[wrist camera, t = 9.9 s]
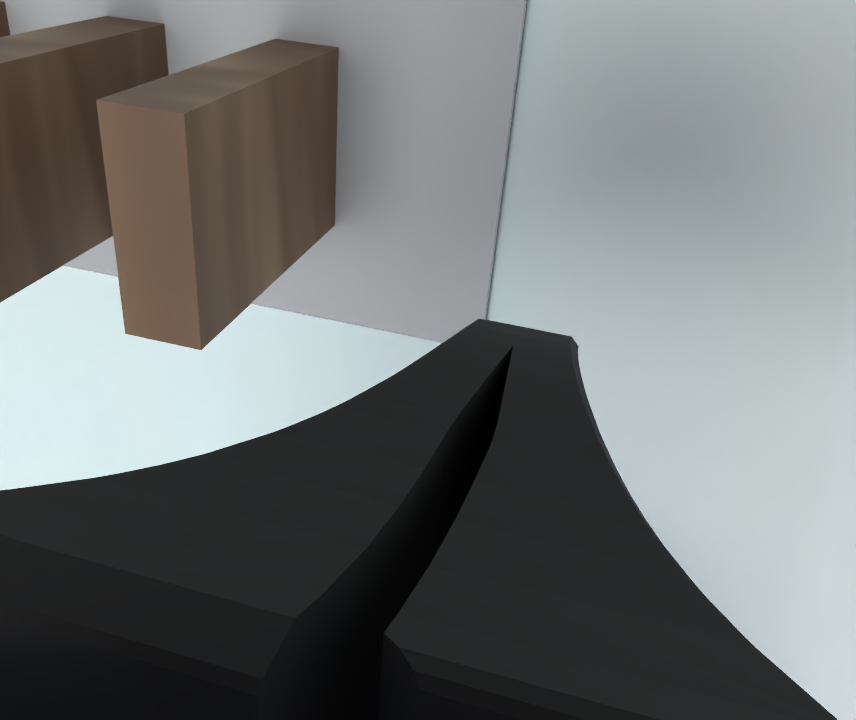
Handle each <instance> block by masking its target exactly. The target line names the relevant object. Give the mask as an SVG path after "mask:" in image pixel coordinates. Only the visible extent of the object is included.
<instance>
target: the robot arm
mask: <svg viewBox="0 0 856 720" xmlns="http://www.w3.org/2000/svg"><path fill="white" fill-rule="evenodd" d="M0 720H837V719H836V718H835V717H834V716H833V715H832V714H830V713H829V712H828V711H827V710H826V709H825V708H824V707H822V706H821V705H820V704H819V703H818V702H817V701H816V700H815V699H813V698H812V697H811V696H810V695H809V694H808V693H807V692H805V691H804V690H803V689H802V688H801V687H800V686H799V685H797V684H796V683H795V682H794V681H793V680H792V679H791V678H789V677H788V676H787V675H786V674H785V673H784V672H783V671H782V670H780V669H779V668H778V667H777V666H776V665H775V664H774V663H772V662H771V661H770V660H769V659H768V658H767V657H766V656H764V655H763V654H762V653H761V652H760V651H759V650H758V649H756V648H755V647H754V646H753V645H752V644H751V643H750V642H749V641H748V640H747V639H746V638H745V637H744V636H743V635H742V634H741V633H740V632H739V631H738V630H737V629H736V628H735V627H734V626H733V625H732V624H731V622H730V621H729V620H728V619H727V618H726V617H725V616H724V615H723V614H722V613H721V612H720V611H719V610H718V609H717V608H716V607H715V606H714V605H713V604H712V603H711V602H710V601H709V600H708V599H707V598H706V596H705V595H704V594H703V593H702V592H701V591H700V590H699V588H698V587H697V586H696V585H695V584H694V583H693V581H692V580H691V579H690V578H689V576H688V575H687V574H686V573H685V571H684V570H683V569H682V568H681V567H680V565H679V564H678V563H677V562H676V560H675V559H674V558H673V557H672V555H671V554H670V553H669V552H668V550H667V549H666V548H665V547H664V545H663V544H662V543H661V541H660V540H659V538H658V537H657V535H656V534H655V532H654V531H653V530H652V528H651V527H650V525H649V524H648V522H647V521H646V519H645V518H644V516H643V514H642V513H641V511H640V510H639V508H638V506H637V505H636V503H635V502H634V500H633V498H632V497H631V495H630V493H629V491H628V490H627V488H626V486H625V484H624V482H623V481H622V479H621V477H620V475H619V473H618V471H617V469H616V467H615V465H614V463H613V461H612V459H611V457H610V454H609V452H608V450H607V448H606V446H605V444H604V441H603V439H602V437H601V434H600V432H599V429H598V427H597V424H596V421H595V419H594V416H593V413H592V410H591V407H590V405H589V402H588V399H587V396H586V392H585V389H584V385H583V381H582V377H581V373H580V368H579V362H578V345H577V344H576V342H575V341H574V339H573V338H572V337H571V336H566V335H561V334H556V333H551V332H545V331H540V330H535V329H530V328H525V327H520V326H515V325H510V324H504V323H499V322H494V321H489V320H484V319H477V320H476V321H474V322H473V323H471V324H470V325H468V326H467V327H465V328H463V329H462V330H460V331H459V332H458V333H456V334H455V335H453V336H452V337H450V338H449V339H448V340H446V341H445V342H443V343H442V344H440V345H439V346H437V347H436V348H435V349H433V350H432V351H430V352H429V353H427V354H426V355H424V356H423V357H421V358H420V359H418V360H417V361H415V362H413V363H412V364H410V365H409V366H407V367H406V368H404V369H403V370H401V371H399V372H398V373H396V374H395V375H393V376H391V377H390V378H388V379H386V380H384V381H382V382H381V383H379V384H377V385H375V386H373V387H372V388H370V389H368V390H366V391H364V392H363V393H361V394H359V395H357V396H355V397H354V398H352V399H350V400H348V401H346V402H344V403H342V404H340V405H338V406H336V407H333V408H331V409H329V410H327V411H325V412H323V413H320V414H318V415H316V416H313V417H311V418H308V419H306V420H303V421H301V422H299V423H296V424H294V425H291V426H289V427H286V428H284V429H281V430H278V431H276V432H273V433H270V434H267V435H263V436H260V437H257V438H254V439H251V440H248V441H245V442H241V443H238V444H235V445H232V446H229V447H226V448H223V449H219V450H216V451H213V452H210V453H207V454H203V455H199V456H195V457H191V458H187V459H183V460H179V461H175V462H171V463H167V464H163V465H158V466H153V467H148V468H143V469H139V470H134V471H129V472H124V473H119V474H113V475H108V476H102V477H97V478H90V479H83V480H76V481H69V482H61V483H54V484H47V485H40V486H33V487H25V488H18V489H11V490H1V491H0Z"/></svg>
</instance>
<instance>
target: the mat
mask: <svg viewBox="0 0 856 720" xmlns="http://www.w3.org/2000/svg"><path fill="white" fill-rule="evenodd" d="M0 1H1V2H5V6H6V12H7V18H8V24H9V29H10V35H14V34H19V33H24V32H29V31H34V30H39V29H44V28H49V27H54V26H58V25H63V24H68V23H73V22H78V21H83V20H88V19H93V18H98V17H103V16H112V17H119V18H126V19H134V20H141V21H149V22H156V23H163V24H165V35H166V47H167V60H168V72H169V75H170V74H173V73H176V72H179V71H182V70H185V69H188V68H191V67H194V66H197V65H200V64H203V63H205V62H208V61H211V60H214V59H217V58H220V57H223V56H226V55H229V54H232V53H235V52H238V51H240V50H243V49H246V48H249V47H252V46H255V45H258V44H261V43H264V42H267V41H270V40H273V39H281V40H289V41H296V42H303V43H311V44H318V45H326V46H333V47H339V57H338V103H337V150H336V196H335V226H334V227H332V228H331V229H330V230H329V231H328V232H327V233H326V234H325V235H324V236H323V237H322V238H321V239H320V240H319V241H317V242H316V243H315V244H314V245H313V246H312V247H311V248H310V249H309V250H308V251H307V252H306V253H305V254H304V255H302V256H301V257H300V258H299V259H298V260H297V261H296V262H295V263H294V264H293V265H292V266H291V267H290V268H288V269H287V270H286V271H285V272H284V273H283V274H282V275H281V276H280V277H279V278H278V279H277V280H276V281H275V282H273V283H272V284H271V285H270V286H269V287H268V288H267V289H266V290H265V291H264V292H263V293H262V294H261V295H260V296H258V297H257V298H256V299H255V300H254V301H253V302H252V303H251V304H255V305H260V306H265V307H270V308H275V309H280V310H285V311H290V312H295V313H300V314H304V315H309V316H314V317H319V318H324V319H329V320H334V321H339V322H344V323H349V324H354V325H359V326H364V327H368V328H373V329H378V330H383V331H388V332H393V333H398V334H403V335H408V336H413V337H418V338H423V339H428V340H433V341H437V342H442V343H443V342H445V341H446V340H448V339H449V338H450V337H452V336H453V335H455V334H456V333H458V332H459V331H460V330H462V329H463V328H465V327H467V326H468V325H470V324H471V323H473V322H474V321H476V320H477V319H484V320H486V314H487V307H488V299H489V291H490V283H491V276H492V268H493V260H494V252H495V245H496V237H497V229H498V221H499V214H500V206H501V198H502V190H503V183H504V175H505V167H506V159H507V152H508V144H509V136H510V128H511V121H512V113H513V105H514V97H515V90H516V82H517V74H518V66H519V59H520V51H521V43H522V35H523V28H524V20H525V12H526V4H527V0H0ZM63 266H68V267H73V268H78V269H83V270H88V271H93V272H97V273H102V274H107V275H112V276H117V277H118V271H117V263H116V255H115V247H114V239H113V236H112V237H110V238H108V239H107V240H105V241H103V242H102V243H100V244H98V245H97V246H95V247H93V248H91V249H90V250H88V251H86V252H85V253H83V254H81V255H80V256H78V257H76V258H75V259H73V260H71V261H69V262H68V263H66V264H64V265H63Z"/></svg>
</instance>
